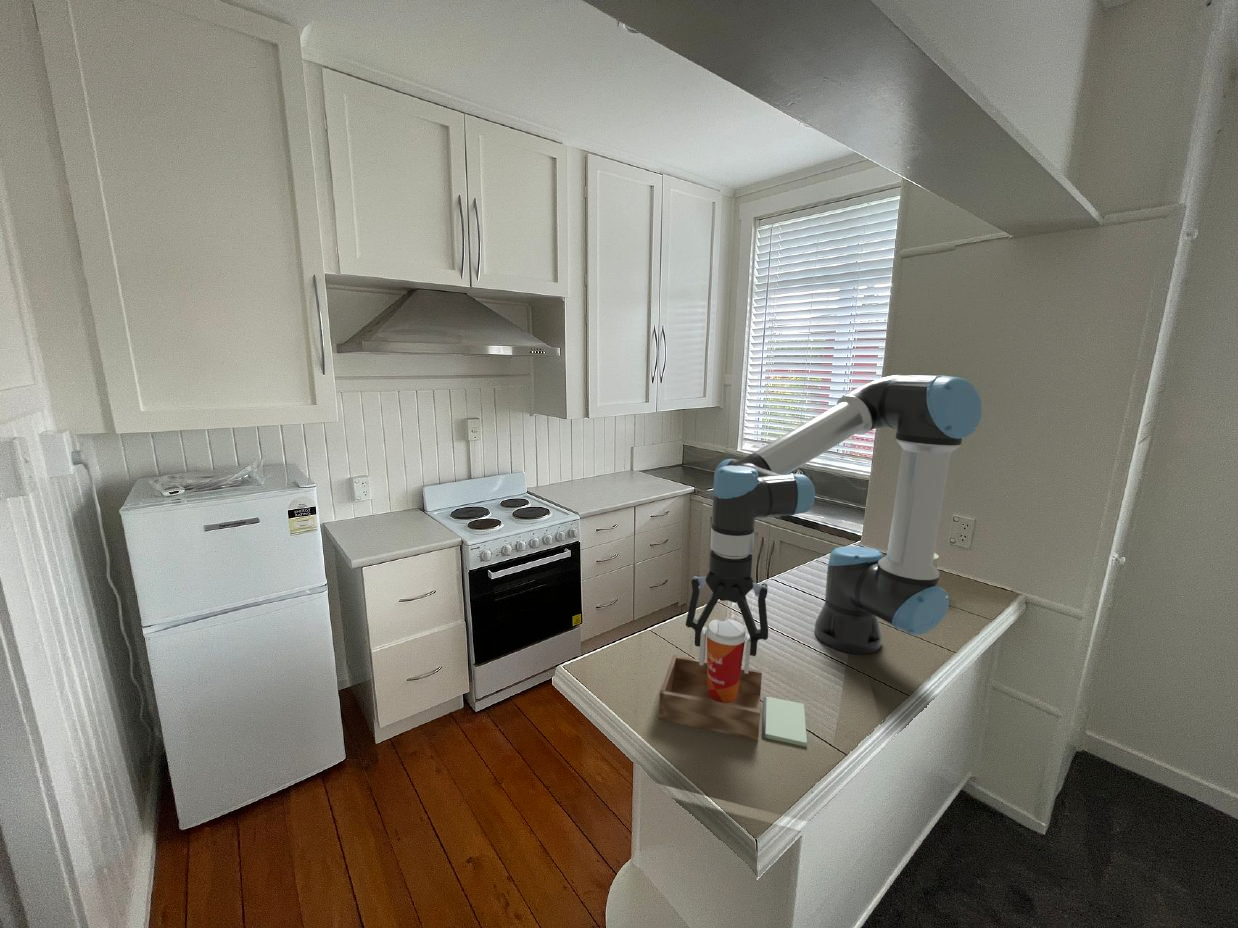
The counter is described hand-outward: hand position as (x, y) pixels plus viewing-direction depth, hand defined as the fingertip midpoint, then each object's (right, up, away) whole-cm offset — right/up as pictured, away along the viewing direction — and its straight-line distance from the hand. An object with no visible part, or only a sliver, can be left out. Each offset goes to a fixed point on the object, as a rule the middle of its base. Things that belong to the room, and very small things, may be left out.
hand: (724, 665), depth 96 cm
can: (+71, 0, +58) cm, 91 cm away
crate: (-2, -10, +3) cm, 11 cm away
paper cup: (0, -6, +1) cm, 6 cm away
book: (+8, -10, 0) cm, 12 cm away
